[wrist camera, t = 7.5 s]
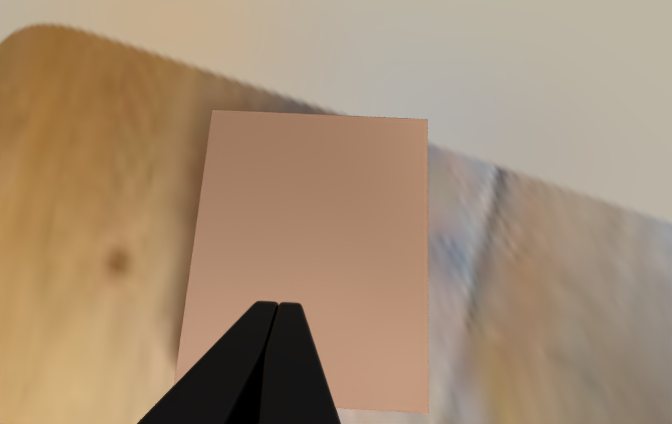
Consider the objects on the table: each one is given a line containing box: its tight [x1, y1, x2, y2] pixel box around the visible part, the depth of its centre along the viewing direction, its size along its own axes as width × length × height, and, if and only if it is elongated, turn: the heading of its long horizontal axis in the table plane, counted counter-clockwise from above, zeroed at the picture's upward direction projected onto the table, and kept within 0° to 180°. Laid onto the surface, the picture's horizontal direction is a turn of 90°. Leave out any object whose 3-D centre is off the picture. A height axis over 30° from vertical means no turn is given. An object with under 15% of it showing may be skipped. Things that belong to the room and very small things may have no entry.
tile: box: [174, 110, 429, 413], centre depth 16 cm, size 2×8×10 cm
